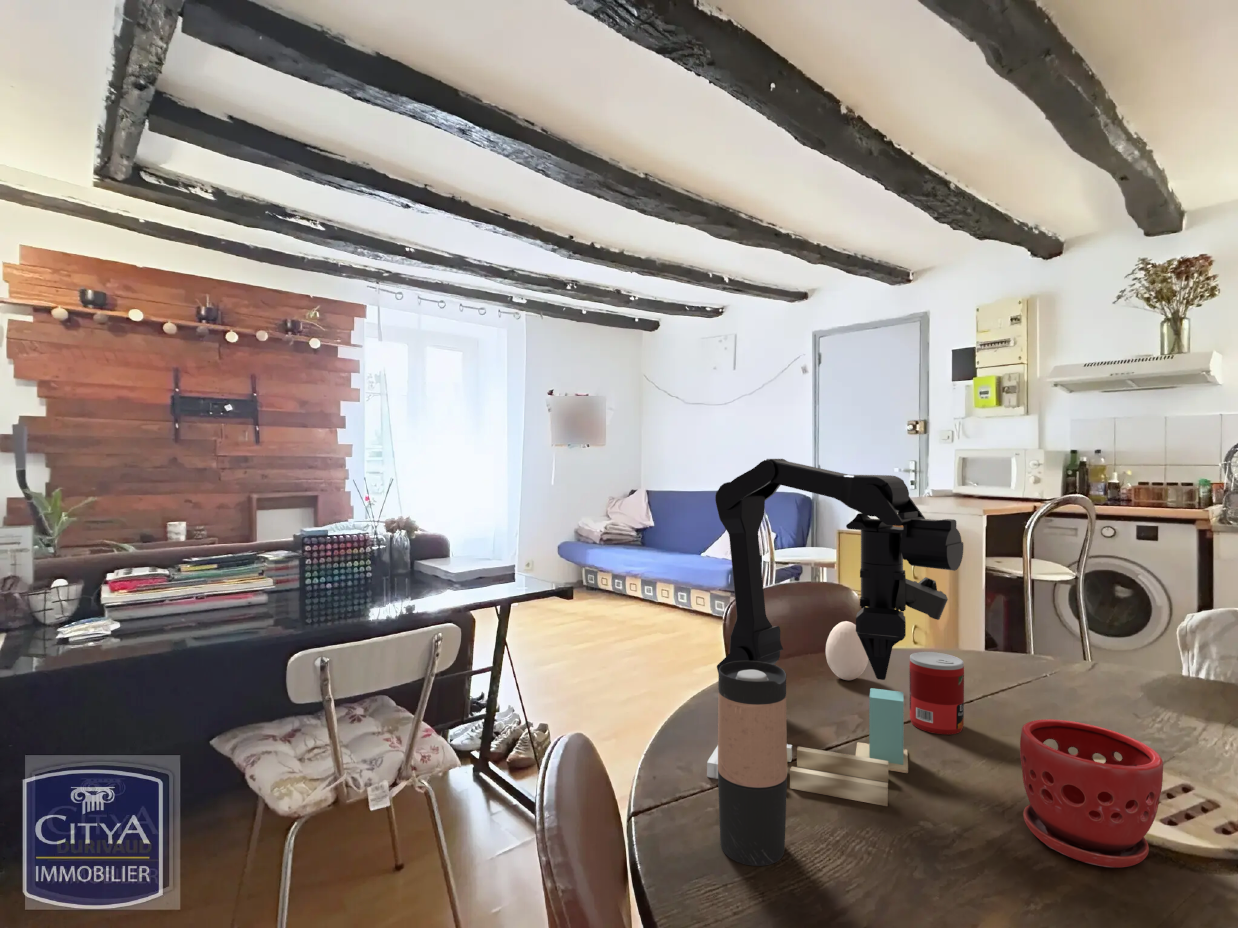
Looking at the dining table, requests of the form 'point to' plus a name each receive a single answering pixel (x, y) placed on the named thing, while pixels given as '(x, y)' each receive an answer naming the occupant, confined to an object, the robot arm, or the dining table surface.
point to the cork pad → (863, 751)
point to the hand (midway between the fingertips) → (881, 669)
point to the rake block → (886, 725)
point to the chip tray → (713, 762)
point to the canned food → (937, 692)
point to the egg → (845, 652)
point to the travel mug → (752, 761)
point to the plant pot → (1090, 791)
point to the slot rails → (840, 783)
